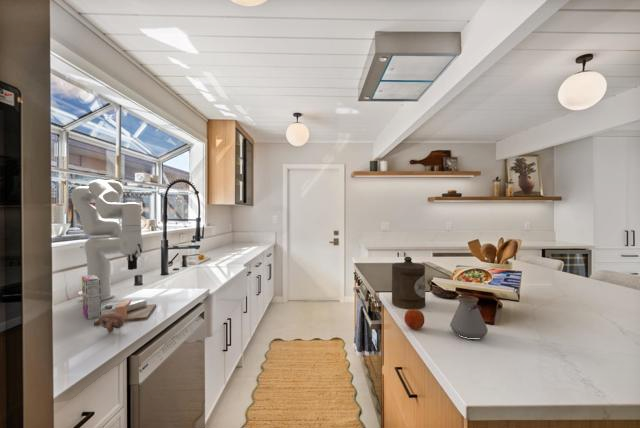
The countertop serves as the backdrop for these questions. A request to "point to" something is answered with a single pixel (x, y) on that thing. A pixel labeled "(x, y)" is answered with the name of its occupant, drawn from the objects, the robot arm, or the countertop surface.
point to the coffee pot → (468, 318)
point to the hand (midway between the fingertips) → (132, 269)
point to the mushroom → (111, 321)
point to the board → (136, 314)
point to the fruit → (414, 319)
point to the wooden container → (408, 284)
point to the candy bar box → (91, 296)
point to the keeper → (123, 308)
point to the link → (130, 307)
